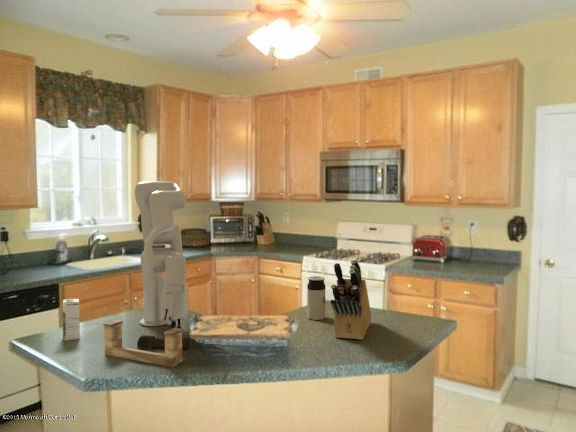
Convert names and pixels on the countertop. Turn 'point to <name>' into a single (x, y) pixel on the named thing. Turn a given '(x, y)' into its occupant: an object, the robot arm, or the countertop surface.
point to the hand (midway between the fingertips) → (176, 337)
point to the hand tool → (158, 342)
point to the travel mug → (316, 298)
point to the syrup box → (71, 319)
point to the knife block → (350, 304)
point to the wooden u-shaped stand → (115, 349)
